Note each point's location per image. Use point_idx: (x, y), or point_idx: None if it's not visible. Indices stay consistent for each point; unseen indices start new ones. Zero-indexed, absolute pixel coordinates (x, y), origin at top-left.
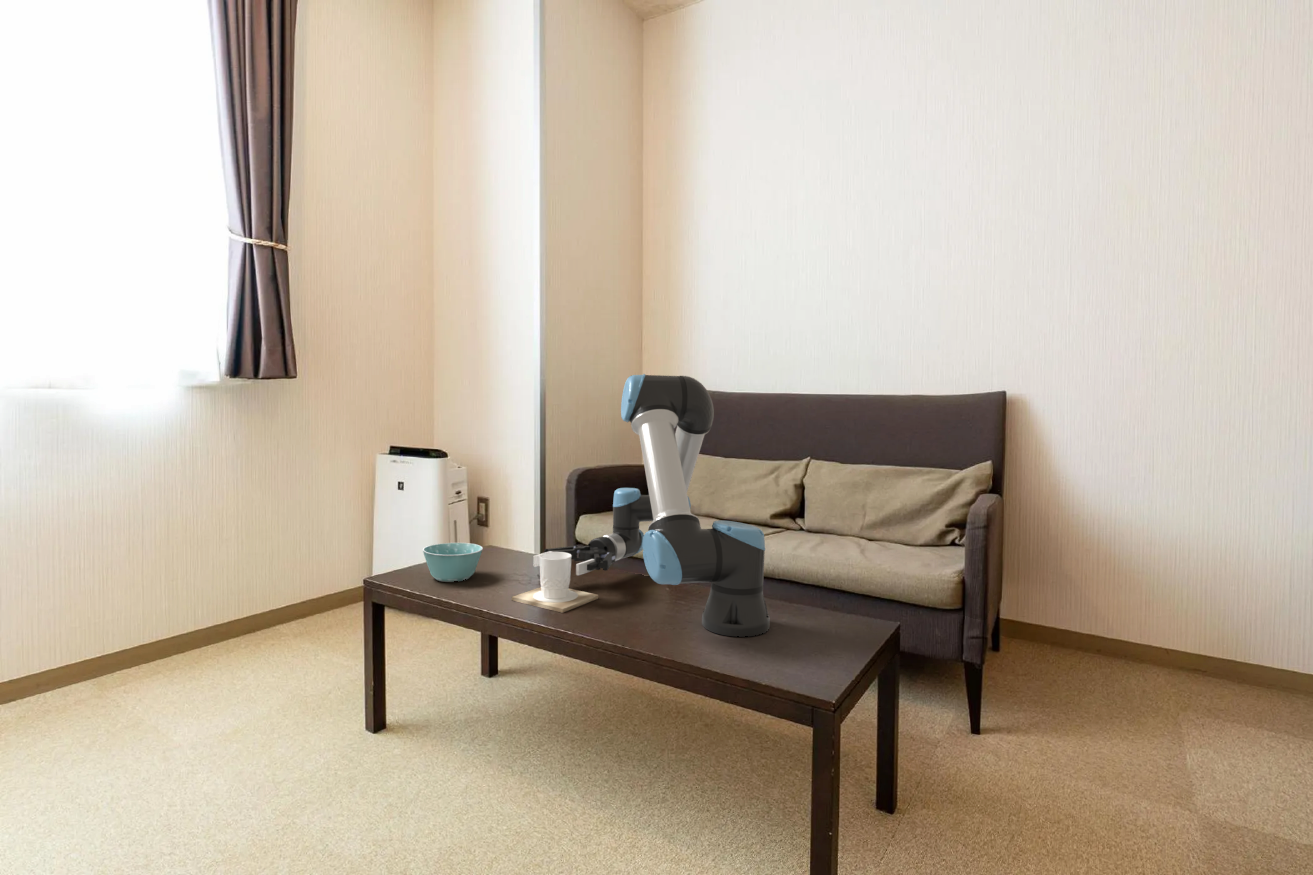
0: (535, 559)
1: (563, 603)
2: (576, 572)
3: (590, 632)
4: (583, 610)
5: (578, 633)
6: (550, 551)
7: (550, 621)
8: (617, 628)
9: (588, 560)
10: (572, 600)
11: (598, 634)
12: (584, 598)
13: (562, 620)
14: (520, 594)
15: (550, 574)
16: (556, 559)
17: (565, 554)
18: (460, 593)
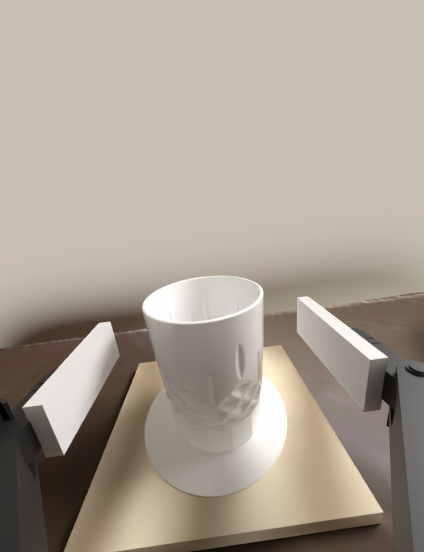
0: (297, 308)
1: (155, 383)
2: (115, 348)
3: (60, 349)
4: (98, 407)
5: (80, 339)
6: (376, 355)
7: (141, 340)
8: (2, 381)
9: (65, 371)
10: (145, 414)
11: (45, 351)
12: (115, 455)
13: (123, 351)
14: (287, 362)
15: (191, 321)
16: (168, 285)
17: (201, 327)
18: (379, 322)
